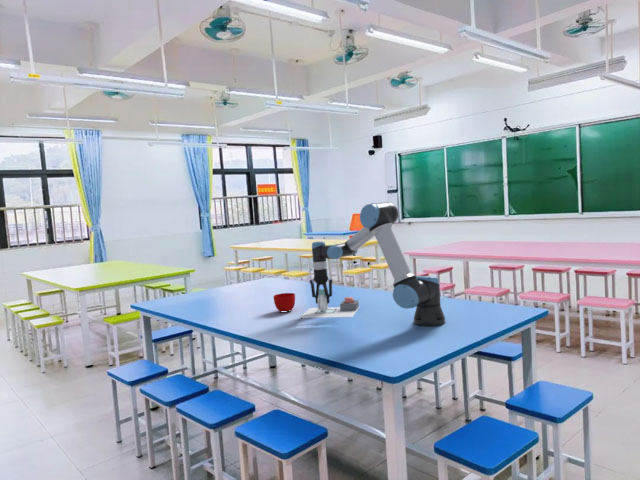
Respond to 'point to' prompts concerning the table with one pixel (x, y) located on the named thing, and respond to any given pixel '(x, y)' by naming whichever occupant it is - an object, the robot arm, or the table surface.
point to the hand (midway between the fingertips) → (323, 308)
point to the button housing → (349, 306)
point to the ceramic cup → (284, 301)
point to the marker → (322, 299)
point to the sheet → (327, 313)
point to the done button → (349, 300)
